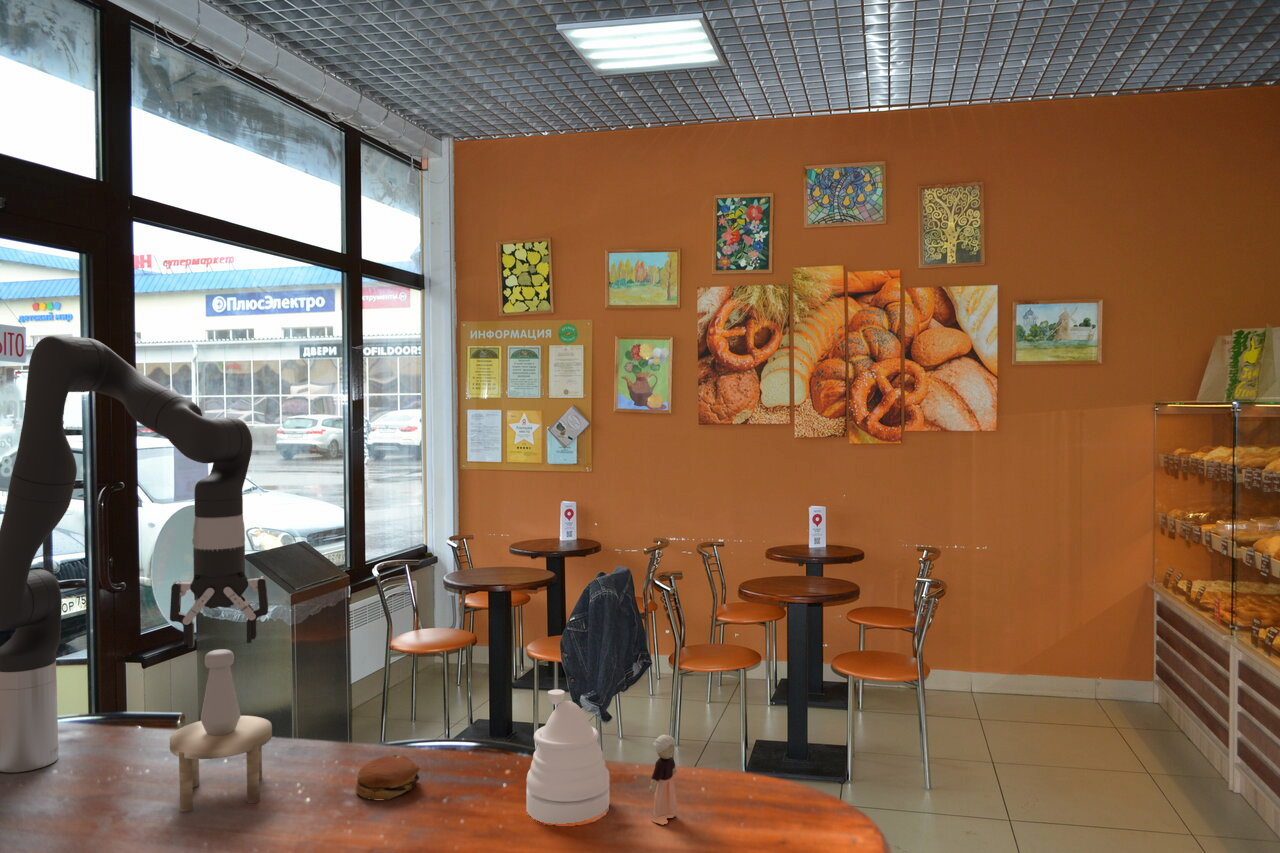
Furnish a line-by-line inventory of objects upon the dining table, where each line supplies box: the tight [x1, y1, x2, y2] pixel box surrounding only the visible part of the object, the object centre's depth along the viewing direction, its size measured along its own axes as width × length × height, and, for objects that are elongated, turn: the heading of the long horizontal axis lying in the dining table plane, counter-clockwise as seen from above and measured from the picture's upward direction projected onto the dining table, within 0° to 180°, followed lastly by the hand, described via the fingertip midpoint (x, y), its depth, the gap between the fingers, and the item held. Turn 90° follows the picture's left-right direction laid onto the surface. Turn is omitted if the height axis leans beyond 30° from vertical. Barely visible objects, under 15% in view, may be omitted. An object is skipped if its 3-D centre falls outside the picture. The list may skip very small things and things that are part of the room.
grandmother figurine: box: [648, 734, 678, 817], centre depth 146 cm, size 8×4×13 cm, turn 163°
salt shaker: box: [200, 648, 242, 736], centre depth 155 cm, size 6×6×13 cm
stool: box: [169, 715, 273, 813], centre depth 155 cm, size 15×15×10 cm
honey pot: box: [525, 688, 611, 824], centre depth 149 cm, size 13×13×18 cm
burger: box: [355, 754, 421, 800], centre depth 157 cm, size 10×9×5 cm
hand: (220, 644), depth 154 cm, fingers open, 8 cm apart
